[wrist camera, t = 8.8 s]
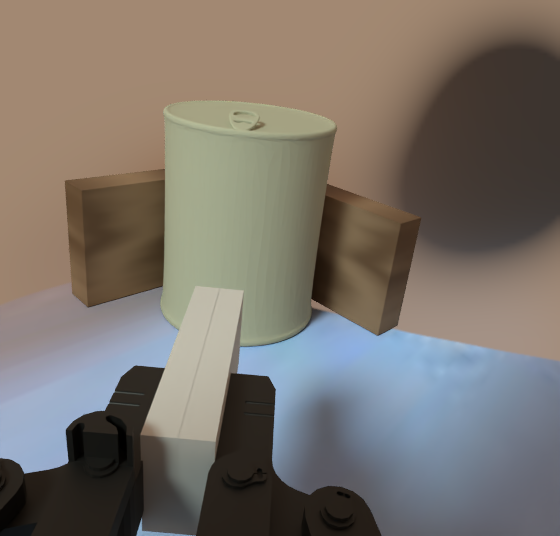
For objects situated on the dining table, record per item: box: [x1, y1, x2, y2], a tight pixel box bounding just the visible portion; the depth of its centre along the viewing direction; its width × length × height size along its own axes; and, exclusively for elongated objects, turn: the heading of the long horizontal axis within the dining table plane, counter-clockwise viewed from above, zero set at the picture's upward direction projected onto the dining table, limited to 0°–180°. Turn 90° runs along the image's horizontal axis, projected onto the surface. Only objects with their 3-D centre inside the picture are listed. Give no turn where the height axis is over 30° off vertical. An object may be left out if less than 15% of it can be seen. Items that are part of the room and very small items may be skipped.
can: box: [161, 101, 337, 346], centre depth 31 cm, size 9×9×12 cm
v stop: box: [65, 169, 421, 335], centre depth 35 cm, size 11×20×7 cm, turn 89°
